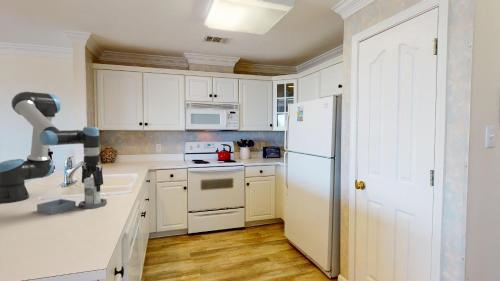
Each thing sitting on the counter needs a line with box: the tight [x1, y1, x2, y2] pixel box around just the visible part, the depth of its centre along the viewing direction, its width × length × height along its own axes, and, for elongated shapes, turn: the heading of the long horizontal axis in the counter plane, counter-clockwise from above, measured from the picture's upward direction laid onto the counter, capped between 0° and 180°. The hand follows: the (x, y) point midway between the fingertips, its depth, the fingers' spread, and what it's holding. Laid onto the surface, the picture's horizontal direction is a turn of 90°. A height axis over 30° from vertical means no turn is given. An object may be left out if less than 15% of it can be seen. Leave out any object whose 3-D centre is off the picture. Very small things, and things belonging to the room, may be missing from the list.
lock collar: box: [78, 198, 108, 210], centre depth 149 cm, size 13×13×2 cm
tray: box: [36, 198, 77, 216], centre depth 141 cm, size 12×12×4 cm
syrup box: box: [83, 176, 102, 205], centre depth 148 cm, size 6×6×14 cm
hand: (92, 196), depth 149 cm, fingers closed on syrup box, 7 cm apart
